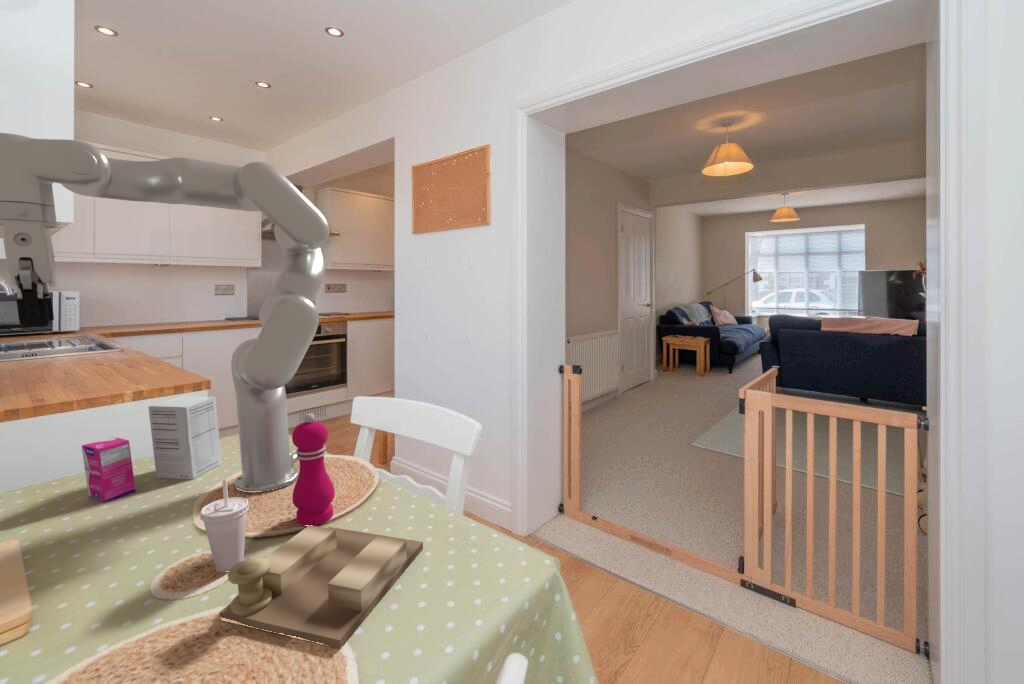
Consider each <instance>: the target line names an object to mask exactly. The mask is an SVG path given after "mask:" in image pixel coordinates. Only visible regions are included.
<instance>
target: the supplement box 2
mask: <svg viewBox="0 0 1024 684" xmlns="http://www.w3.org/2000/svg"><path fill="white" fill-rule="evenodd" d="M216 398H217V397H215V396H200V395H199V396H198V395H196V396H195V395H194V396H193V395H180V396H177V397H174V398H171V399H168V400H165V401H161V402H157V403H154V404H151V405H149V406H148V407H147V408H148V414H149V423H150V434H151V442H152V449H153V459H154V466H155V467H154V468H155V474H156V478H157V479H169V480H170V479H174V480H192V481H193V480H195V479H196V478H198V477H200V476H202V475H203V474H206V473H207V472H209V471H211V470H213V469H215V468H217V467H218V466H221V465H222V464H223V463H222V454H221V451H222V450H221V442H220V431H219V422H218V413H217V412H218V410H217V399H216Z"/></svg>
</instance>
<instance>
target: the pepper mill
mask: <svg viewBox="0 0 1024 684" xmlns="http://www.w3.org/2000/svg"><path fill="white" fill-rule="evenodd" d="M328 438H329V432H328V429H327V426H325V424H324V423H322V422H320V421H316V420H315V415H314V414H313V413H306V414H304V417H303V422H302V423H300V424H297V425H296V426H295V428H294V429H293V432H292V437H291V440H292V443H293V445H294V446H295V447H296V448H297V449H296V450H295V453H297V455H296V457H297V458H298V459H299V460H298V461H299V470H298V471H299V476H298V478H297V479H296V481H295V485H294V487H293V491H292V505H293V506H295V508H296V509H297V510H296V512H295V514H296V522H297V524H298V525H300V526H303V525H315V526H319V525H323V524H324V522H325V523H326V521H327V522H328V521H330V520H331V519H332V518H333V516H334V506H333V504H332V501H333V500H334V499H335V495H336V492H335V487H334V484H333V481H332V479H331V478H330V476H329V473H328V472H327V470H326V465H325V456H326V454H327V451H326V448H327V447H326V445H325V444H326V442H327V441H328ZM331 517H332V518H331ZM330 518H331V519H330ZM329 519H330V520H329Z"/></svg>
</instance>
